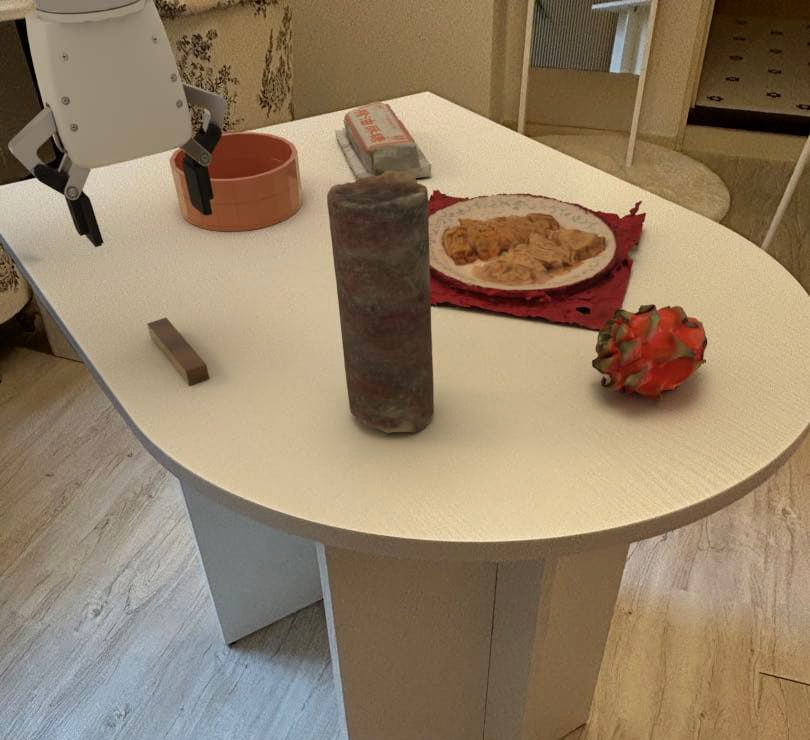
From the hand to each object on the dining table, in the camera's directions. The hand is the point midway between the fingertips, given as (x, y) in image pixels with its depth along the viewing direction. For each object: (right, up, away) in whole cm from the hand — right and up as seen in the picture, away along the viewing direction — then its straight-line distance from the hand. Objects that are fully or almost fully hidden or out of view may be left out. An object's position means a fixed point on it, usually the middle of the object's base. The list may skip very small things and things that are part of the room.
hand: (149, 224), depth 68 cm
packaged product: (+19, +26, +42) cm, 53 cm away
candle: (+21, -16, +2) cm, 26 cm away
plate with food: (+34, +4, +21) cm, 40 cm away
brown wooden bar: (0, -9, +9) cm, 13 cm away
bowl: (+1, +15, +33) cm, 36 cm away
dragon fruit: (+44, -13, +4) cm, 46 cm away
